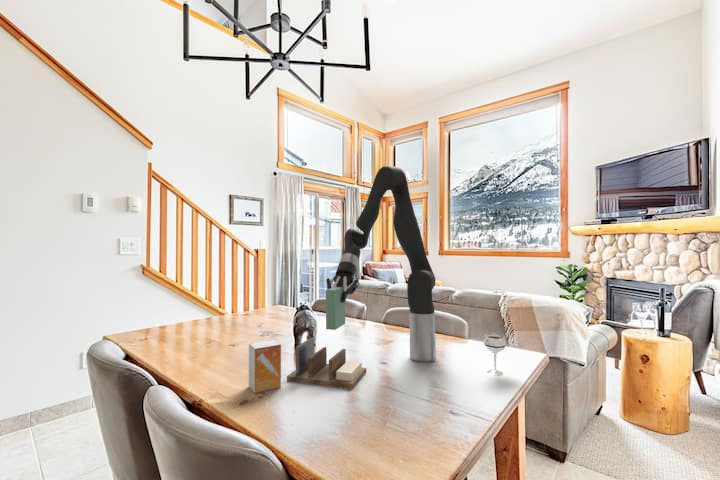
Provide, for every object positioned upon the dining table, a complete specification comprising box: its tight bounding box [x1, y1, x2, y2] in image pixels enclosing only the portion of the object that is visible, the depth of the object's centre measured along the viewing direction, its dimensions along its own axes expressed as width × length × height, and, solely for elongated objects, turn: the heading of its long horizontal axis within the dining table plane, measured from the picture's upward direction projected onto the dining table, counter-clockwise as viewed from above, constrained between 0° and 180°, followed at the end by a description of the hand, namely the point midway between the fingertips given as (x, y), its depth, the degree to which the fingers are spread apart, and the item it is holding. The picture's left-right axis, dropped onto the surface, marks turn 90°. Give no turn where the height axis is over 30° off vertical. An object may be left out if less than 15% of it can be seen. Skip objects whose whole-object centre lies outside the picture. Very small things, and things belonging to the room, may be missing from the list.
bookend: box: [295, 337, 315, 376], centre depth 114 cm, size 1×11×9 cm, turn 162°
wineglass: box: [483, 333, 507, 376], centre depth 113 cm, size 7×7×12 cm
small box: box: [248, 339, 282, 394], centre depth 104 cm, size 8×6×13 cm
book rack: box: [286, 346, 367, 390], centre depth 111 cm, size 22×14×8 cm, turn 72°
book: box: [325, 287, 346, 331], centre depth 126 cm, size 4×10×14 cm, turn 162°
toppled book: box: [336, 360, 363, 381], centre depth 109 cm, size 5×10×2 cm, turn 162°
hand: (336, 301), depth 127 cm, fingers closed on book, 3 cm apart
